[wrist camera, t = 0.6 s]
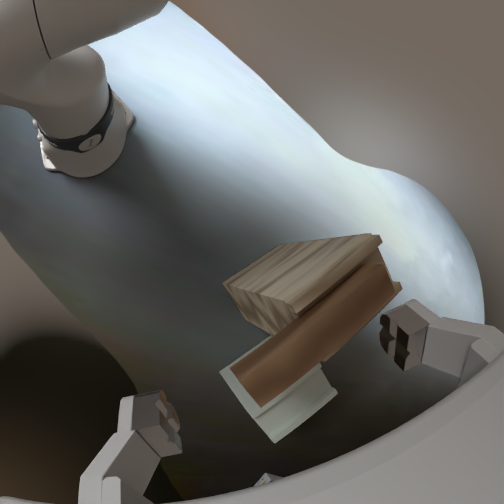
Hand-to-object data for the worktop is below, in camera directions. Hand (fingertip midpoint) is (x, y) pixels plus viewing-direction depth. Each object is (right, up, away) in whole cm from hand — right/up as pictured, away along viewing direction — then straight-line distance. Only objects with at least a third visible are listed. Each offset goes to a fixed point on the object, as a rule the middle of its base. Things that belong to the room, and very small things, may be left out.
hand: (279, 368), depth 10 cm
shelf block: (+1, -2, +46) cm, 46 cm away
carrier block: (0, -18, +45) cm, 49 cm away
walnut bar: (+5, -4, +20) cm, 21 cm away
